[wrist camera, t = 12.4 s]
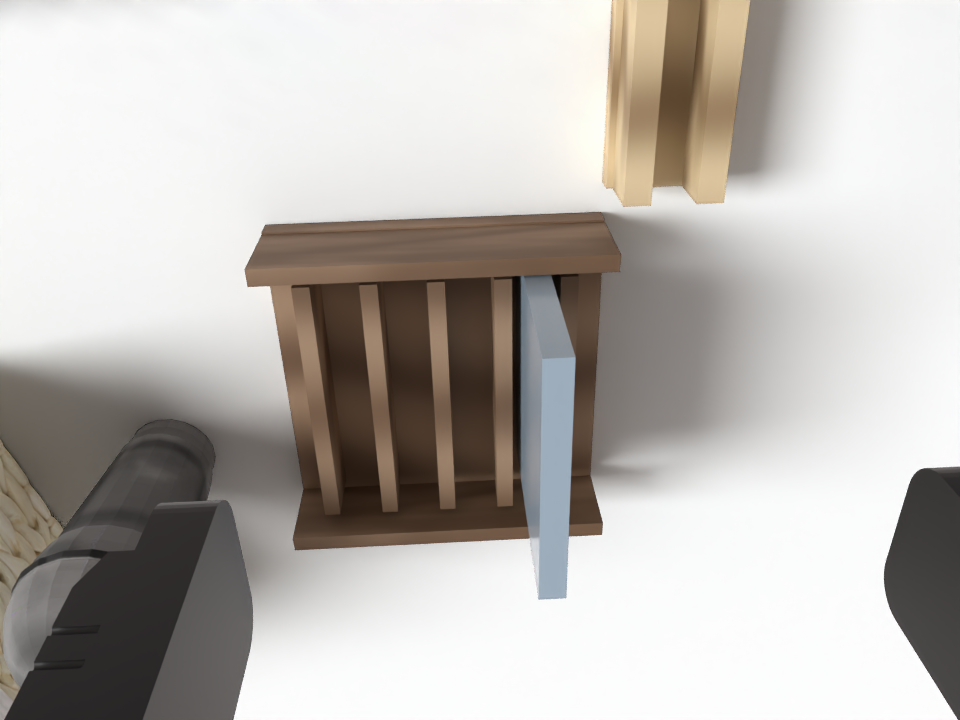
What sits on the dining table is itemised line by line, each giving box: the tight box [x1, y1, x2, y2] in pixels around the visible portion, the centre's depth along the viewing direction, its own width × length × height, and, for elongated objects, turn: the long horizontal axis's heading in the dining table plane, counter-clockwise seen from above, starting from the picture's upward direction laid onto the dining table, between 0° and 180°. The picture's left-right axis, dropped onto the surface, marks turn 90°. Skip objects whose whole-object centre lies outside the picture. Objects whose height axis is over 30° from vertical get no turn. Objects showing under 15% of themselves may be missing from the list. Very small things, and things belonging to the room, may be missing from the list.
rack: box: [245, 212, 621, 550], centre depth 41 cm, size 16×16×5 cm
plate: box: [516, 275, 576, 600], centre depth 37 cm, size 12×1×11 cm, turn 1°
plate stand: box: [602, 0, 750, 207], centre depth 35 cm, size 9×5×4 cm, turn 1°
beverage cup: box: [3, 420, 215, 688], centre depth 37 cm, size 7×7×20 cm
